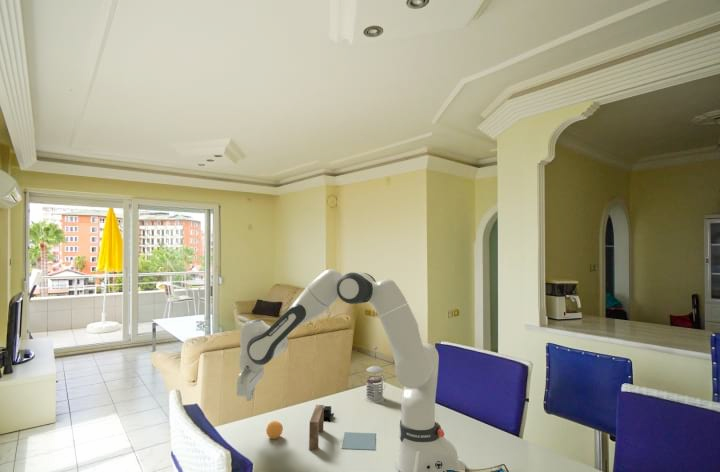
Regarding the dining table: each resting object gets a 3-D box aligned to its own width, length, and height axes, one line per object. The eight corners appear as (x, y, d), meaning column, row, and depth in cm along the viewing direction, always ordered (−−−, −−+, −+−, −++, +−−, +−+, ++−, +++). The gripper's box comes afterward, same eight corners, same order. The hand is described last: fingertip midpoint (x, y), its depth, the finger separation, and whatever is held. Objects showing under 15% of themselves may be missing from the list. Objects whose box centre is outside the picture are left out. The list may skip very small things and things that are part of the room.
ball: (284, 434, 146) (284, 418, 146) (280, 442, 140) (280, 425, 140) (268, 433, 146) (269, 417, 146) (264, 441, 140) (264, 425, 140)
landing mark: (375, 433, 147) (375, 433, 147) (375, 450, 135) (375, 449, 135) (344, 432, 148) (344, 432, 148) (341, 448, 136) (341, 448, 136)
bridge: (323, 430, 150) (323, 405, 150) (317, 450, 135) (317, 422, 135) (315, 429, 150) (316, 404, 150) (309, 449, 135) (309, 422, 135)
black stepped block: (333, 425, 155) (333, 414, 155) (315, 425, 155) (315, 413, 156) (337, 412, 167) (337, 402, 167) (321, 412, 168) (321, 401, 168)
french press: (375, 393, 189) (376, 342, 190) (391, 400, 180) (392, 347, 181) (360, 397, 183) (360, 345, 184) (375, 405, 174) (376, 350, 175)
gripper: (250, 371, 134) (248, 411, 134) (267, 355, 154) (265, 389, 154) (232, 371, 134) (231, 410, 134) (251, 354, 155) (250, 389, 154)
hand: (249, 399), depth 144 cm, fingers closed
